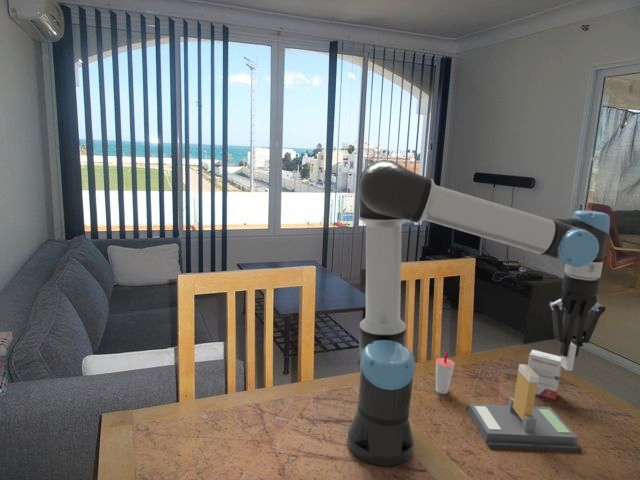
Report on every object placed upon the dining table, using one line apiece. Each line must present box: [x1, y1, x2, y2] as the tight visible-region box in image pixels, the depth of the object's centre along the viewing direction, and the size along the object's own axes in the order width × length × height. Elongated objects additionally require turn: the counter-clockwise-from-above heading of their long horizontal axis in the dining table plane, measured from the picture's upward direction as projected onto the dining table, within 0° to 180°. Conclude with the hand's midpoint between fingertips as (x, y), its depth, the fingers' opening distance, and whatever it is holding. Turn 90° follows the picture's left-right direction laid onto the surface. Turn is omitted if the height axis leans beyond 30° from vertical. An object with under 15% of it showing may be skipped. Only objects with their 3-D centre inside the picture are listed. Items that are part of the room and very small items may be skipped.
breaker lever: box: [512, 363, 539, 420], centre depth 115 cm, size 2×6×13 cm, turn 1°
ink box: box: [527, 349, 562, 400], centre depth 134 cm, size 9×5×12 cm, turn 58°
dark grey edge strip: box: [487, 442, 582, 453], centre depth 109 cm, size 22×1×1 cm, turn 91°
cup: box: [435, 351, 456, 395], centre depth 131 cm, size 5×5×12 cm
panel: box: [467, 396, 578, 445], centre depth 116 cm, size 22×13×6 cm, turn 91°
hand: (566, 368), depth 113 cm, fingers closed
